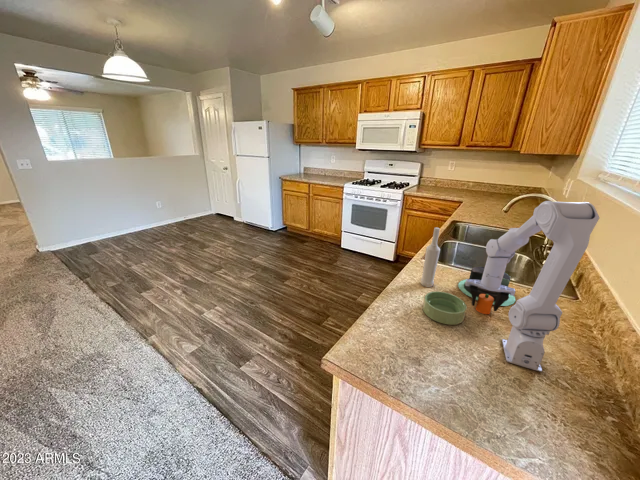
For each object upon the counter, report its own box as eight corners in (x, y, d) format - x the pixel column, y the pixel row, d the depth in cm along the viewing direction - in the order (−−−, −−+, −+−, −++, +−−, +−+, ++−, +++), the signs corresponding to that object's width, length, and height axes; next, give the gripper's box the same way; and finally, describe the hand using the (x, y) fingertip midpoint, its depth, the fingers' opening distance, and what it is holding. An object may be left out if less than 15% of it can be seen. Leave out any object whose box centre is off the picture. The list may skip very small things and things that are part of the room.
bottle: (420, 286, 110) (430, 229, 101) (420, 280, 115) (429, 225, 106) (433, 288, 109) (445, 231, 100) (432, 282, 113) (443, 227, 104)
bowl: (463, 330, 85) (467, 318, 83) (420, 318, 90) (422, 306, 88) (463, 308, 96) (466, 297, 94) (424, 299, 101) (426, 288, 99)
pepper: (490, 315, 92) (495, 299, 90) (475, 311, 94) (480, 295, 92) (489, 308, 96) (494, 292, 94) (475, 305, 98) (479, 289, 96)
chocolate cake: (507, 281, 113) (528, 309, 95) (461, 293, 120) (472, 321, 103) (496, 251, 110) (516, 275, 92) (450, 265, 117) (459, 290, 99)
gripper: (516, 273, 90) (505, 306, 95) (468, 264, 96) (461, 296, 101) (520, 282, 84) (509, 317, 89) (469, 272, 90) (461, 305, 95)
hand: (483, 307), depth 95 cm, fingers open, 6 cm apart
